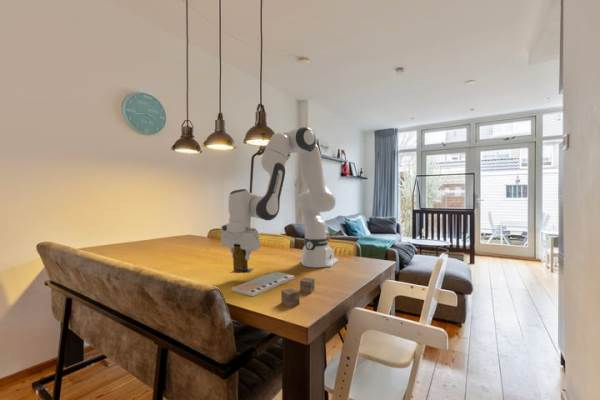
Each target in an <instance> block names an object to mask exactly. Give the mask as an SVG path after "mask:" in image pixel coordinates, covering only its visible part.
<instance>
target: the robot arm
mask: <svg viewBox="0 0 600 400" xmlns="http://www.w3.org/2000/svg"><path fill="white" fill-rule="evenodd" d="M293 153H296V154H297V153H298V155H299V158H300V169H301V179H302V182H303V183H304V184H305V185H306V187H307V189H308V190H305V191H303V192H301V193H299V194H298V196H297V197H296V204H297V206H298V208H299V209H300V211H301V214H302V217H303V221H304V222H303V223H304V238H303V244H304V245H303V247H302V252H301V253H302V254H301V259H300V260H299V261H300V262H299V263H300V264H301V265H302V266H303V267H308V268H332V267H333V266H335V264H337V263H338V262H339V258H338V257H337V258H336V257H335V252H334V249H333V248H332V247H330V245H329V243H328V242H330V240H331V239H330V237H327V223H326V221H325V220H324V219H323V217H322V214H321V213H327V212H330V211H332V210H333V209H334V208H335V206H336V202H337V201H336V197H335V195H334V194H333V193H332V192H331V191H330V189H329V188H328V186H327V183H326V180H325V176H324V171H323V170H324V169H323V163H322V160H323V159H322V155H321V152H320V147H319V146H318V145H317V139H316V135H315V133H314V131H313V130H312V128H310V127H308V126H307V127H299V128H294V129H291V130H290V131H288V132H284V133H282V132H276V133H274V134H272V136H271V137H270V139H269V140H268V142H267V144H266V147H265V149H264V152H263V154H262V156H261V162H260V163H261V167H262V168H263V170H264V171H265V172H266V173H268V174H269V181H268V184H267V188H266V192H265V194H264V195H263V196H257V194H254V193H251V192H250V191H249V190H247V189H246V188H241V189H235V190H233V191H231V192H230V194H229V195H228V213H229V218H228V223H225V224H224V225H221V227H220V231H221V233H220V235H221V236H220V238H221V240H220V241H221V245H222V247H223V248H224V247H225V248H229V251H230V253H231V258H233V250H234V244H240V248H241V249H244V250H246V252H247V253H246V256H244V260H248V261H249V260H250V255H251V254H252V252H255V251H258V250H260V249H261V242H260V236H259V231H258V230H257V229H256V228H255V227H251V222H250V221H251V219H250V218H256V219H262V220H264V221H272V220H274V219H275V218H276V217H278V214H279V212H280V205H281V204H280V199H281V194H282V189H283V186H284V181H285V175H286V167H285V166H286V162H287V158H288V156H289V154H293Z"/></svg>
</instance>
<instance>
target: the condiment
mask: <svg viewBox="0 0 600 400" xmlns="http://www.w3.org/2000/svg"><path fill="white" fill-rule="evenodd" d="M246 253H247V252H246V250H244V249H241V248H240V244H234V250H233V259H232V261H233V262H232V263H233V269H232V271H230V272H229V273H231V274H247V273H248V274H249V273H251V272H253V271H254V270H255V267H248V266H249V265H248V261H249V260H244V256H246Z"/></svg>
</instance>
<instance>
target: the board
mask: <svg viewBox="0 0 600 400" xmlns="http://www.w3.org/2000/svg"><path fill="white" fill-rule="evenodd" d="M294 279H295V275H293V274H288V273H286V272H285V273H284V272H279V271H274V272H271V273H268V274H266V275H265V274H264V275H263V276H259V277H257V278H255V279H252V280H249V281H247V282H244V283H241V284H239V285H236V286H233V287H232V288H231V289H232V290H231V291H232V292H235V293H239V294H242V295H247V296H250V297H256V296H257V295H259V294H263V292H266V291H268V290H271V289H273V288H275V287H278V286H280V285H282V284H284V283H287V282H288V281H292V280H294Z"/></svg>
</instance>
